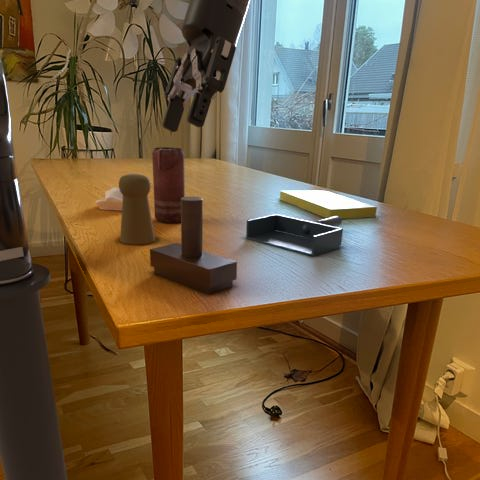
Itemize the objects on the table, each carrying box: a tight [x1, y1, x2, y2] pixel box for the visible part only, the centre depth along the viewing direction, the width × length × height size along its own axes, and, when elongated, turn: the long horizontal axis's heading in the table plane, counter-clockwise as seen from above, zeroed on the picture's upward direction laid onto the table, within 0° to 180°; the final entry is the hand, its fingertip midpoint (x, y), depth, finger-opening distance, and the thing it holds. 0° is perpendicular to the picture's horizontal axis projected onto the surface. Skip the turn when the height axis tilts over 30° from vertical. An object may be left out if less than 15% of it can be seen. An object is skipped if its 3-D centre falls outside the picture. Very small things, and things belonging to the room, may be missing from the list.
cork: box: [118, 173, 156, 245], centre depth 81 cm, size 6×6×11 cm
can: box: [151, 146, 186, 224], centre depth 94 cm, size 6×6×14 cm
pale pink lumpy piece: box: [95, 187, 123, 212], centre depth 106 cm, size 10×4×10 cm
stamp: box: [149, 196, 238, 295], centre depth 63 cm, size 5×12×11 cm, turn 47°
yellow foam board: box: [279, 190, 378, 220], centre depth 115 cm, size 12×2×24 cm
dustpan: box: [245, 213, 344, 257], centre depth 88 cm, size 19×15×3 cm
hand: (181, 127), depth 65 cm, fingers open, 8 cm apart
